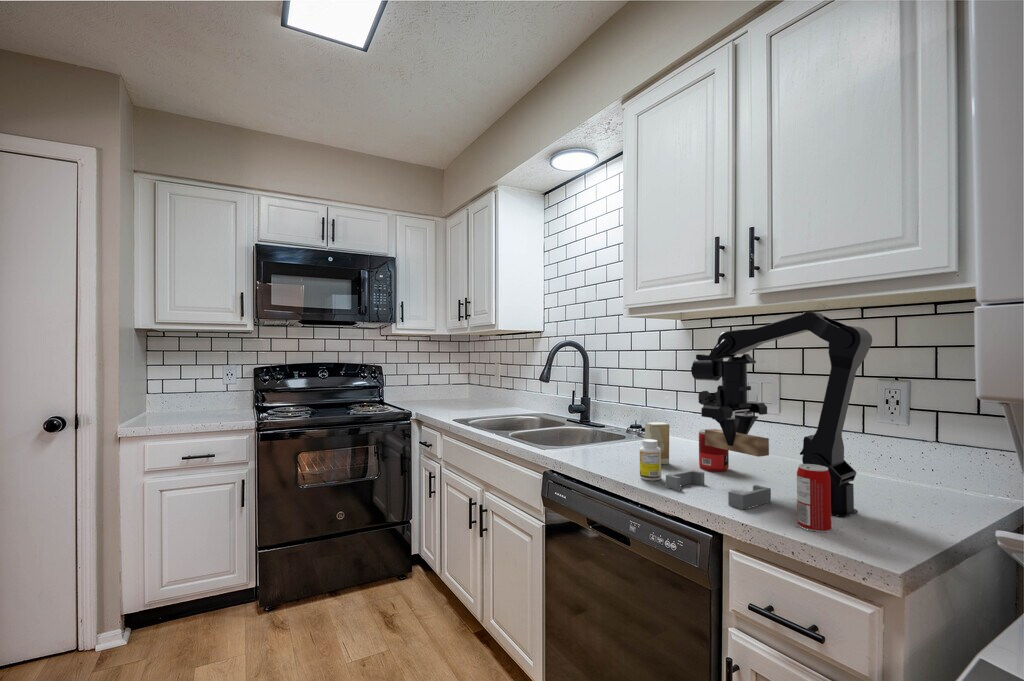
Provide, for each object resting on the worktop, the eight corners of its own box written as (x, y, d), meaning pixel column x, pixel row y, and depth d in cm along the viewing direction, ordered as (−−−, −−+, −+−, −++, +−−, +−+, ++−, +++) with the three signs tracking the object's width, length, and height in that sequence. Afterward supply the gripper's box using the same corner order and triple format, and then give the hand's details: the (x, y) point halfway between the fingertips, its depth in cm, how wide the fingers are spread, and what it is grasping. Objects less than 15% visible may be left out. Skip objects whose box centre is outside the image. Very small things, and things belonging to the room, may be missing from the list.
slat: (768, 455, 116) (768, 438, 116) (758, 456, 114) (758, 439, 114) (714, 444, 130) (714, 428, 130) (705, 445, 129) (704, 429, 129)
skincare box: (651, 465, 148) (650, 424, 148) (644, 462, 152) (643, 422, 153) (670, 464, 150) (670, 423, 150) (662, 461, 154) (662, 421, 154)
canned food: (731, 472, 139) (731, 433, 139) (701, 471, 140) (701, 432, 141) (725, 466, 146) (725, 429, 146) (697, 465, 148) (696, 428, 148)
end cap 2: (770, 501, 111) (770, 488, 112) (743, 509, 106) (742, 495, 106) (756, 497, 114) (756, 484, 115) (728, 505, 109) (728, 491, 109)
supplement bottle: (646, 475, 136) (646, 437, 137) (665, 478, 132) (664, 440, 132) (635, 478, 132) (635, 440, 133) (654, 482, 128) (653, 443, 129)
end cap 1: (665, 487, 124) (665, 475, 124) (693, 481, 129) (692, 469, 129) (677, 490, 121) (677, 478, 121) (704, 484, 126) (704, 472, 126)
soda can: (836, 529, 94) (835, 466, 94) (823, 535, 91) (822, 470, 91) (805, 521, 99) (804, 460, 99) (792, 527, 95) (791, 464, 96)
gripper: (728, 379, 134) (729, 436, 134) (682, 381, 124) (683, 443, 124) (768, 381, 125) (769, 443, 124) (721, 383, 115) (722, 451, 115)
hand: (735, 444), depth 122 cm, fingers closed on slat, 4 cm apart
